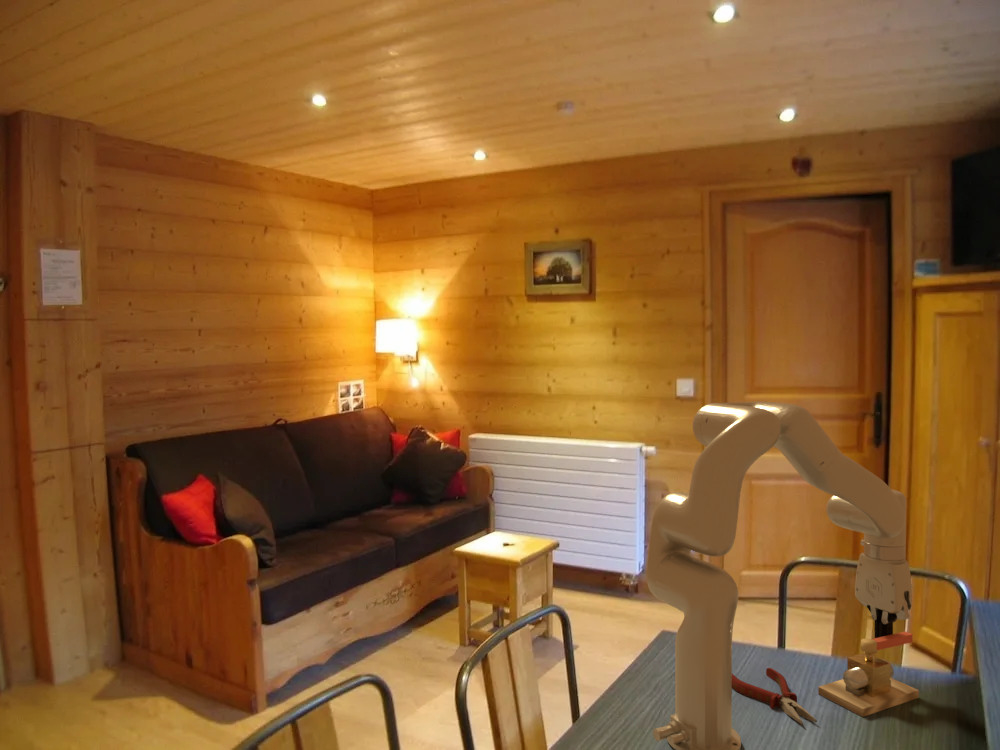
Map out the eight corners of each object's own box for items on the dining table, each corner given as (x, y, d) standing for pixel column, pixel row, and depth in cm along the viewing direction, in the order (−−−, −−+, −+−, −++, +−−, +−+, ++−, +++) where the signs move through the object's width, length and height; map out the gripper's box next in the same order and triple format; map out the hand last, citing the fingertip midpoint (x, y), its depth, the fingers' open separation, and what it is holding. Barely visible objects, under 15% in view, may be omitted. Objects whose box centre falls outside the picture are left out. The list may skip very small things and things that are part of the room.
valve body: (863, 700, 140) (864, 662, 140) (838, 687, 145) (838, 651, 145) (898, 688, 145) (898, 651, 144) (872, 677, 150) (873, 641, 149)
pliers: (782, 733, 133) (782, 719, 133) (722, 683, 152) (722, 671, 152) (837, 725, 135) (837, 711, 135) (771, 677, 155) (772, 664, 155)
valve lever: (869, 654, 143) (869, 645, 143) (857, 648, 145) (857, 640, 145) (914, 643, 148) (915, 634, 147) (902, 638, 150) (902, 629, 150)
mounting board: (862, 716, 137) (862, 709, 137) (818, 694, 146) (818, 686, 146) (918, 697, 144) (918, 690, 144) (873, 676, 153) (873, 669, 153)
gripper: (840, 544, 154) (839, 630, 155) (904, 563, 140) (903, 658, 141) (866, 539, 157) (865, 624, 158) (931, 558, 143) (930, 651, 144)
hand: (883, 640), depth 150 cm, fingers closed
